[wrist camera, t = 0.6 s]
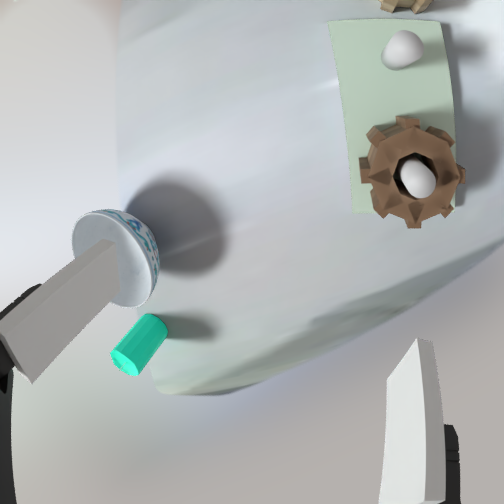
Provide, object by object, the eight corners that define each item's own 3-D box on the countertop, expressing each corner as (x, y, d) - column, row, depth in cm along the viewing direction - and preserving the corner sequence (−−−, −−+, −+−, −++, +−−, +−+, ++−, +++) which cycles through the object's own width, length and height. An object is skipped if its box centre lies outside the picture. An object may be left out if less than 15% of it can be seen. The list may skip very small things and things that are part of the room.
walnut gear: (343, 139, 29) (342, 148, 24) (423, 103, 24) (440, 104, 19) (382, 219, 31) (388, 243, 26) (458, 187, 27) (477, 205, 22)
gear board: (328, 25, 25) (319, -3, 17) (435, 24, 20) (464, 1, 12) (352, 208, 34) (352, 246, 26) (450, 207, 30) (478, 244, 21)
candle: (166, 319, 52) (129, 365, 42) (169, 342, 55) (137, 387, 45) (138, 309, 54) (100, 352, 43) (143, 332, 56) (110, 374, 46)
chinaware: (106, 263, 51) (78, 286, 44) (101, 184, 43) (66, 201, 36) (178, 293, 48) (153, 323, 42) (183, 207, 40) (151, 231, 34)
